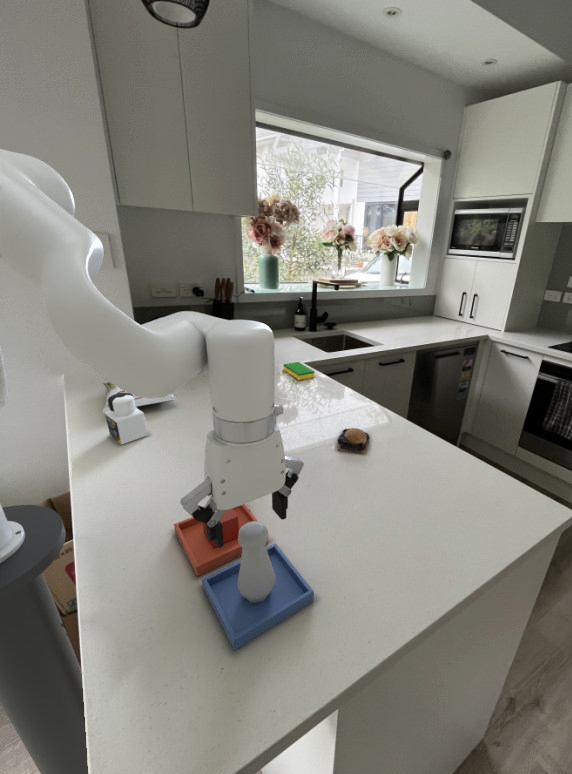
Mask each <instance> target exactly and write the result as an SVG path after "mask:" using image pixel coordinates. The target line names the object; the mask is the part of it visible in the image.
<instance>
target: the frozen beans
mask: <svg viewBox="0 0 572 774" xmlns="http://www.w3.org/2000/svg"><path fill="white" fill-rule="evenodd" d="M103 385H104V386H105V389H106V391H107V392H106V399H105V405H104V407H103V409H102V413H104V414H105V413H106V412H109V411H110V408H109V404H108V398H109V397H110V396H112V395H114V394H118V393H128V392H126V391H124V390H123V389H120V388H119V387H117V386H116V385H114V384H112V383H111V382H109V381H108V382H105V383H103ZM132 395H133V394H132ZM133 396H134V399H135V404H136V408H139V407H143V406H148V405H153V404H158V403H164V402H172V401H175V400H177V398H176V396H175V395H174V394H173V393H171V394H169V395H167V396H164V397H161V398H143V397H139V396H136V395H133Z"/></svg>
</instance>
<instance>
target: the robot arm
mask: <svg viewBox="0 0 572 774" xmlns="http://www.w3.org/2000/svg"><path fill="white" fill-rule="evenodd" d="M75 213H76V202H75V197H74V196H73V192H72V190H71V188H70V186H69V185H68V183H67V182H66V180H65V179H64V178H63V176H62V175H61V174H60V173H59V172H58V171H57V170H56V169H54V168H53V167H52V166H51V165H49V164H48V163H46V162H44V161H43V160H41V159H39V158H38V157H34V156H33V155H28V154H26V153H25V154H24V153H21V152H16V151H11V150H6V149H3V148H0V261H1V262H3V263H4V264H5V265H7V266H8V267H9V268H11V269H12V270H13V271H15V272H16V273H17V274H18V275H20V277H23V279H25V280H26V281H28V282H29V283H31V284H32V285H33V286H35V288H37V289H38V290H39V291H40V294H41V300H42V301H41V302H42V305H43V308H44V309H43V310H44V312H45V314H46V317H47V319H48V321H49V323H50V325H51V326H52V328H53V329H52V330H54V332H55V334H56V336H57V337H58V339H59V341H60V342H61V343H62V344H63V345H64V347H65V348H66V349H67V350H68V351H69V352H70V353H71V355H73V356H74V357H75V358H76V359H77V360H79V361H80V362H81V363H82V364H84V365H85V366H87V367H88V368H89V369H91V370H93V371H94V372H95V373H96V374H98V375H99V376H100V377H102V378H104V379H105V380H106V381H108V382H111V383H112V384H114V385H116V386H117V387H119V388H120V389H123V390H124V391H126V392H128V393H130V394H133V395H136V396H139V397H143V398H161V397H164V396H167V395H169V394H171V393H172V394H173V393H174V392H176V391H177V390H179V389H180V388H183V387H184V386H185V385H186V384H187V383H189V382H190V381H191V380H193V379H194V378H196V377H199V376H201V375H203V374H207V373H208V379H209V392H210V402H211V403H210V404H211V412H212V413H211V414H212V415H211V416H212V424H213V430H210V431H208V432H207V433H206V440H205V446H204V460H203V461H204V463H203V464H204V465H203V473H204V474H203V475H204V478H203V479H204V480H203V481H201V483H199V484H198V485H197V486H196V487H195V488H193V489H192V490H191V491H189V492H188V493H187V494H185V496H183V497H182V498H181V499H180V501H179V503H180V504H181V506H182V508H183V510H184V511H185V512H187V513H188V515H190V516H191V517H193V518H194V519H195V520H198V521H200V522H203V523H206V532H207V536H208V539H209V540H210V542H211V541H213V540H214V542H215V543H216V545H217V547H218V548H221V547H223V545H224V542H223V530H222V524H221V522H220V521H219V520H220V518H221V517H222V515H223V514H224V512H225V511H226V510H228V509H232V508H235V507H238V506H240V505H243V504H245V505H246V504H248V503H251V502H254V501H256V500H259V499H261V498H263V497H266V496H269V495H270V494H271V509H272V510H273V512H274V513H275V514H276V515H277V517H278V518H279V519H280V520H286V519H287V510H288V509H289V497H290V495H291V494H292V492H293V491H292V488H293V487H294V486H295V485H296V483H297V482H298V481H299V475H300V474H301V472H302V469H304V466H305V465H304V464H305V463H304V462H303V461H302V460H301V459H300V458H298V457H295V456H294V457H293V456H286V455H285V448H284V443H283V437H282V434H281V429H280V427H279V425H278V424H277V417H278V416H280V415H283V414H284V407H283V405H282V404H280V403H279V404H276V375H275V373H276V370H275V368H276V367H275V364H276V363H275V362H276V361H275V358H276V357H275V336H274V332H273V330H272V329H271V328H270V326H268V325H267V324H265V323H263V322H260V321H256V320H249V319H230V320H229V319H225V318H220V317H216V316H213V315H210V314H206V313H201V312H198V311H191V310H184V311H178V312H175V313H174V312H173V313H172V314H171V313H170V314H168V315H165V316H162V317H158V318H157V319H153V320H151V321H149V322H145V323H143V324H140V323H138V322H137V321H135V320H134V319H132V318H131V317H130V316H128V315H127V314H126V313H125V312H124V311H122V310H121V309H119V308H118V307H117V306H116V305H114V304H113V303H112V302H111V301H110V300H108V299H107V298H106V297H105V296H104V295H103V294H102V293H101V291H99V290H98V288H97V287H96V285H95V284H94V283H93V281H94V280H95V278H96V277H97V276H98V273H99V272H100V270H101V268H102V266H103V262H104V258H105V249H104V246H103V242H102V241H101V239H100V237H99V236H97V234H96V233H95V232H93V231H92V230H91V229H89V228H88V227H87V226H85V225H84V224H83V223H82V222H80V221H79V220H78V219H77V218H75ZM7 378H8V377H7V372H6V367H5V362H4V356H3V351H2V346H1V344H0V409H2V408H3V407H4V406H5V405H6V403H7V402H8V398H9V385H8V379H7ZM286 469H289V470H286ZM206 497H209V498H208V500H207V501H206V503H205V504H204V506H201V505H199V503H200V502H201V501H203V500H204V499H205V498H206ZM215 507H216V508H215ZM2 508H3V506H2V505H1V503H0V563H2V562H3V561H5V560H6V559H8V558H9V557H10V556H11V555H12V554H14V553H15V552H16V551H17V550H18V548H19V547H20V546H21V544H22V543H23V541H24V539H25V532H24V529H23V527H22V526H21V525H20V524H18V523H16V522H13V521H7V519H6V516H5V514H4V511H3V509H2ZM214 508H215V510H214V511H213V509H214Z"/></svg>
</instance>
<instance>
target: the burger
mask: <svg viewBox="0 0 572 774" xmlns="http://www.w3.org/2000/svg"><path fill="white" fill-rule="evenodd" d="M369 441H370V435H369V433H368V432H366V431H364V430H363V429H360V428H358V427H357V428H356V427H350V428H344V429H343V430H342V432H341V434H340V435H339V436H338V438H337V451H340V452H345V453H353V454H362V455H363V454H365V453H366V451H367V448H368V444H369Z"/></svg>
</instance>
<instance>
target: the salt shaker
mask: <svg viewBox="0 0 572 774" xmlns="http://www.w3.org/2000/svg"><path fill="white" fill-rule="evenodd" d="M267 540H268V541H269V530H268V527H267V525H266V524H265V523H263V522H260V521H258V522H255V521H252V522H249V523H247V524H245V525H243V526H242V527H241V528H240V530H239V534H238V542H239V544H240V545H241V547H242V555H240V556H241V558H240V560H241V564H240V570H239V576H238V590H239V591H240V593H241V595H242V596H244V597H245V598H246V599H247V600H248V601H250V602H251V603H256V602H263V601H264V600H265V599H266V597H267V596H268V595H269V594H270V592H271V591H272V589H273V587H274V585H275V574H274V571H273V568H272V565H271V562H270V559H269V556H268V553H267V550H266V547H267V546H266V544H267V543H268V542H267ZM266 542H267V543H266Z"/></svg>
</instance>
